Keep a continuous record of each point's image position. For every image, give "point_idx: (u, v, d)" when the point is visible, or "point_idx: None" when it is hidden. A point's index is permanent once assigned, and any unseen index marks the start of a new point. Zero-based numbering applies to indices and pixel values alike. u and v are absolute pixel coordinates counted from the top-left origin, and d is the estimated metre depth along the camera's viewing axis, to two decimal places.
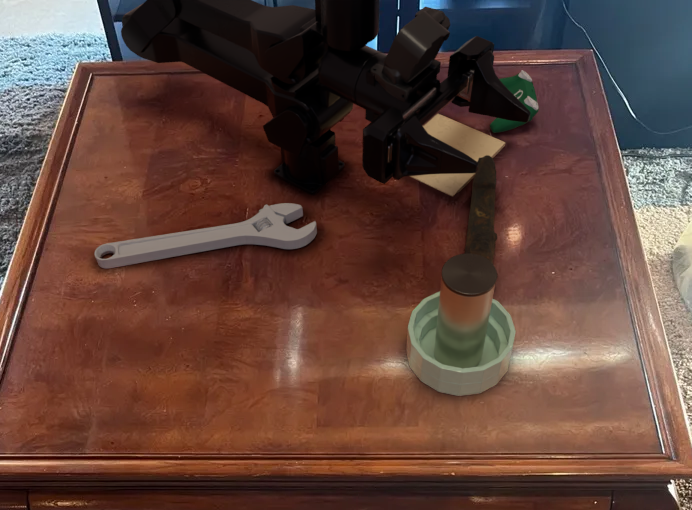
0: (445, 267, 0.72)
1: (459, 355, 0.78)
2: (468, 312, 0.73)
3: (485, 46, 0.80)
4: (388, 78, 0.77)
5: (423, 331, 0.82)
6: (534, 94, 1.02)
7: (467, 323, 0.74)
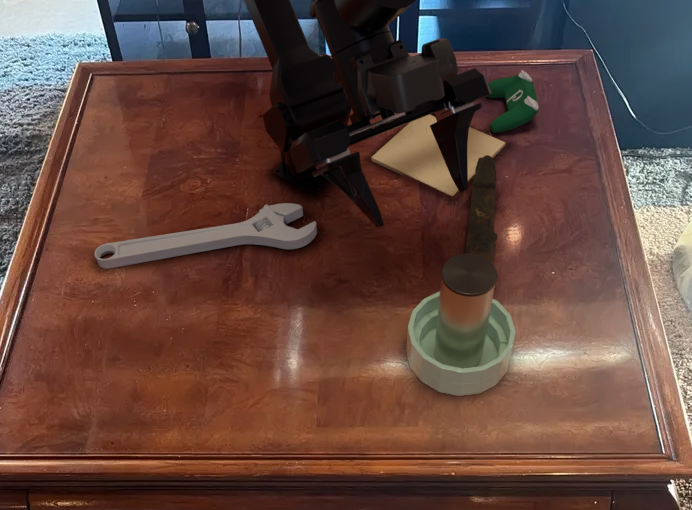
0: (445, 267, 0.72)
1: (459, 355, 0.78)
2: (468, 312, 0.73)
3: (480, 96, 0.73)
4: (366, 85, 0.70)
5: (423, 331, 0.82)
6: (534, 94, 1.02)
7: (467, 323, 0.74)
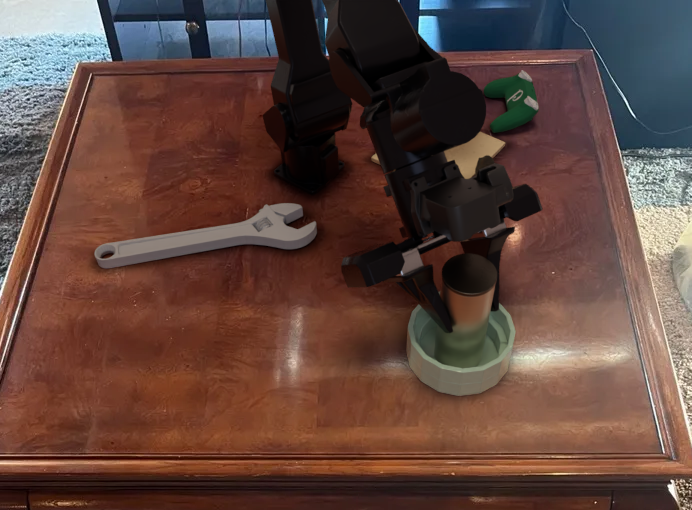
0: (445, 267, 0.72)
1: (459, 355, 0.78)
2: (468, 312, 0.73)
3: (531, 213, 0.73)
4: (420, 208, 0.70)
5: (423, 331, 0.82)
6: (534, 94, 1.02)
7: (467, 322, 0.74)
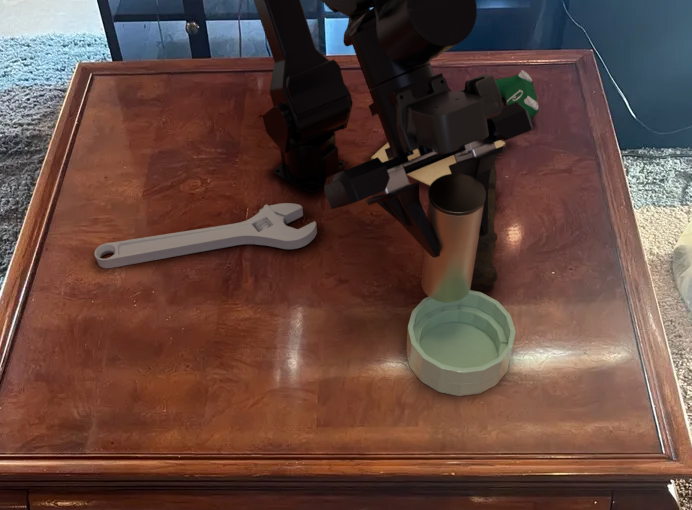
0: (432, 187, 0.70)
1: (447, 283, 0.75)
2: (456, 234, 0.70)
3: (521, 132, 0.71)
4: (405, 122, 0.67)
5: (423, 331, 0.82)
6: (534, 94, 1.02)
7: (454, 246, 0.71)
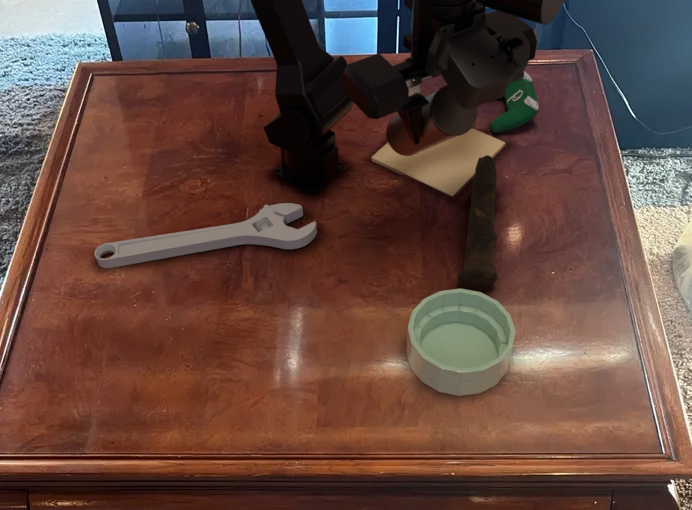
0: (436, 98, 0.77)
1: (411, 150, 0.86)
2: (440, 139, 0.80)
3: None
4: (439, 54, 0.71)
5: (423, 331, 0.82)
6: (534, 94, 1.02)
7: (433, 142, 0.82)
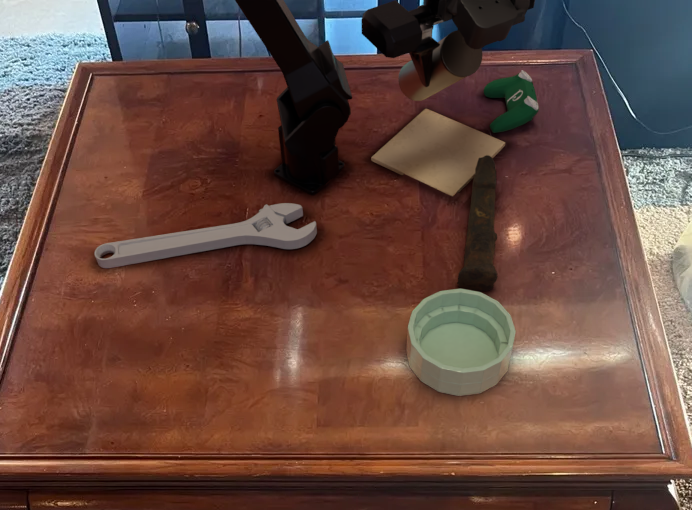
0: (445, 42, 0.86)
1: (421, 94, 0.95)
2: (448, 81, 0.89)
3: None
4: None
5: (423, 331, 0.82)
6: (534, 94, 1.02)
7: (442, 84, 0.91)
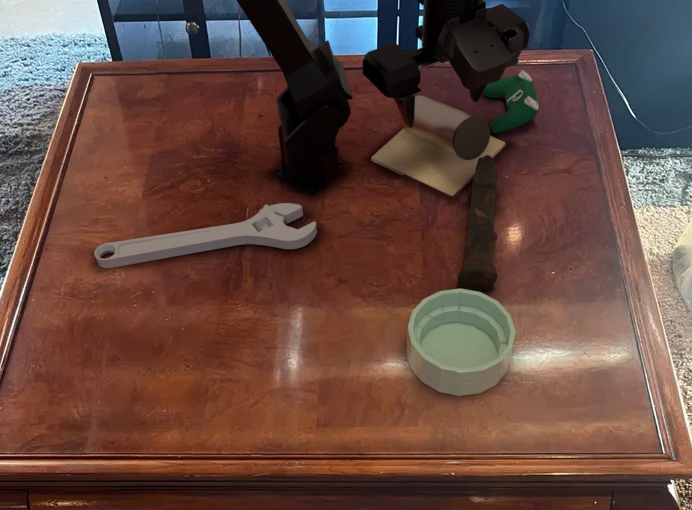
0: (459, 130, 0.91)
1: None
2: None
3: None
4: (447, 42, 0.84)
5: (423, 331, 0.82)
6: (534, 94, 1.02)
7: None
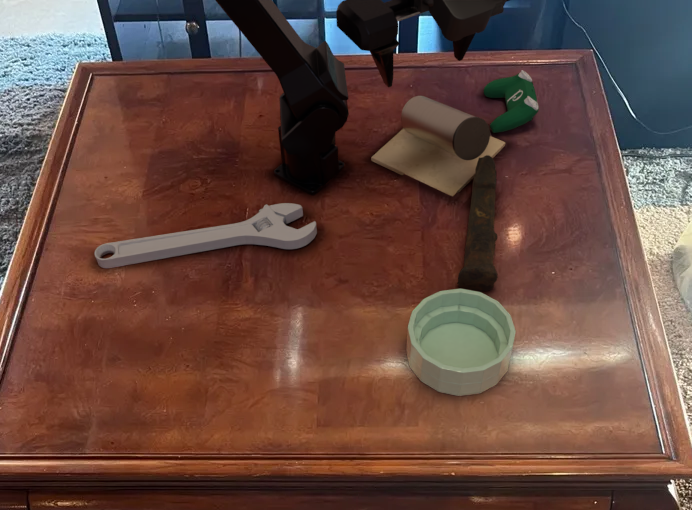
0: (459, 131, 0.91)
1: None
2: None
3: (506, 0, 0.84)
4: None
5: (423, 331, 0.82)
6: (534, 94, 1.02)
7: None
